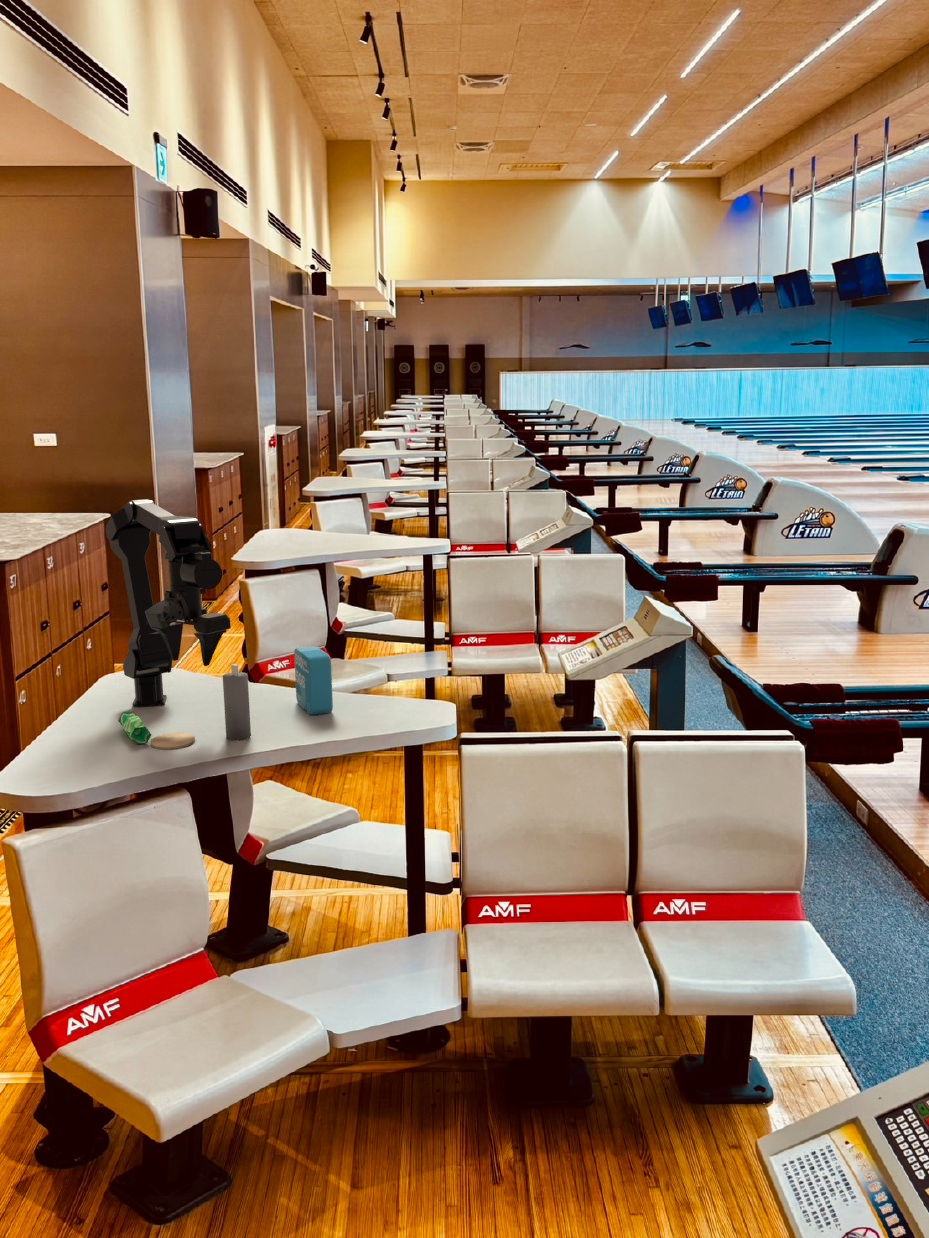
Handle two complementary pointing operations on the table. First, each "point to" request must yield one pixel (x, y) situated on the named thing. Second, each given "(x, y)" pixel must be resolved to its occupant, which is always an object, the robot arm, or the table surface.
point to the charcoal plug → (236, 704)
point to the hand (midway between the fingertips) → (190, 663)
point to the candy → (134, 728)
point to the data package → (313, 680)
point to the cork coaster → (172, 740)
